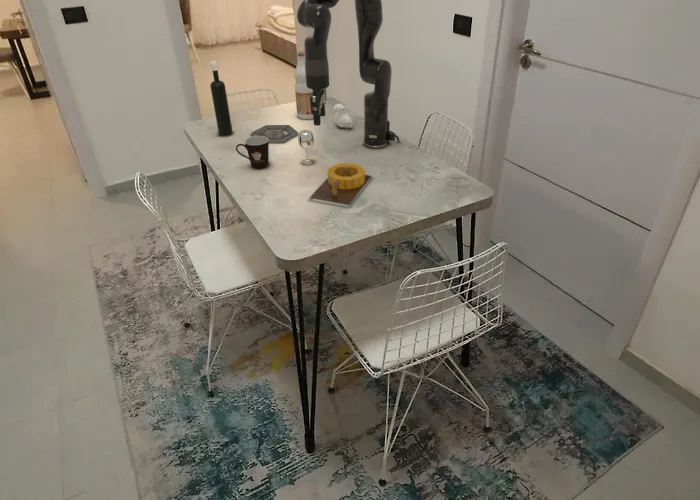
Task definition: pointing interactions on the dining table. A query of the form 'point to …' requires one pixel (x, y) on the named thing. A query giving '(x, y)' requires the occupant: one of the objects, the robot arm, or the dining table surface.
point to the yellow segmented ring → (347, 182)
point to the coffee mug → (257, 151)
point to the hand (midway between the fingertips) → (319, 120)
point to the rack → (337, 191)
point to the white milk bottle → (302, 89)
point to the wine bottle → (220, 103)
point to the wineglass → (306, 141)
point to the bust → (342, 117)
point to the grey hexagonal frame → (276, 133)
